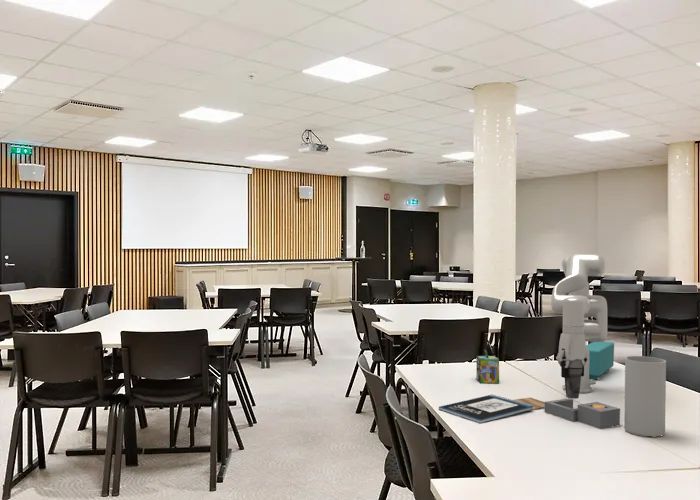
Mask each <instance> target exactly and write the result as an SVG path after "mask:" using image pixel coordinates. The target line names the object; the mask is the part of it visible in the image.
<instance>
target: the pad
mask: <svg viewBox="0 0 700 500" xmlns="http://www.w3.org/2000/svg"><path fill="white" fill-rule="evenodd" d="M511 400H512V401H513V400H515V401H519V402H518V403H520V402H522V403H526V405H527V404H529V405H533V409H532V410H529V411H536V410H542V409H543V410H545V402H546V401H544V400H543V401H542V400H540V399H536V398H533V397H524V398H516V399H511ZM529 411H528V412H529Z"/></svg>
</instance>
